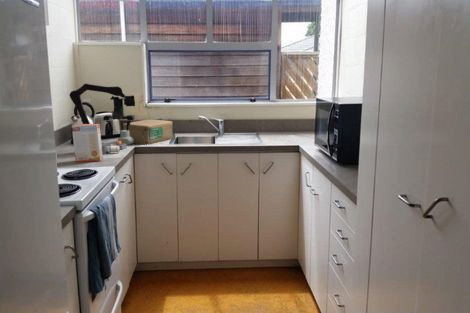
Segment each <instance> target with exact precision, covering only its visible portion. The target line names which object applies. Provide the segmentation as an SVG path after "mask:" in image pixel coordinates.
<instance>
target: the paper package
mask: <svg viewBox="0 0 470 313" xmlns="http://www.w3.org/2000/svg"><path fill="white" fill-rule="evenodd" d="M173 122H174V121H171V120H165V119H164V120H162V119H151V118H150V119H143V120H142V119H141V120H138V121H133V122H132V121H131V123H130V125H129V128H128V130H129V134H130V137H132V138H133V139H134V142H133V143H132V144H137V145H145V144H148V145H149V146H150V145H152V144H153V145H154V144H157V143H160V142H164V141H169V140H172V139H173ZM122 125H123V130H127V122H126V123H122Z"/></svg>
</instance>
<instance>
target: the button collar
mask: <svg viewBox="0 0 470 313" xmlns="http://www.w3.org/2000/svg"><path fill="white" fill-rule="evenodd" d="M111 146H119V147H120V151H123V149H124V150H126V149H127V146H126V144H121V145H116V143H115V144H113V145H111Z"/></svg>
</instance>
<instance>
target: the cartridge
mask: <svg viewBox="0 0 470 313" xmlns="http://www.w3.org/2000/svg"><path fill="white" fill-rule="evenodd" d="M120 151H121V150H120V147H119V146H112V145H110V146H106V152H109V153H120Z"/></svg>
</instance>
